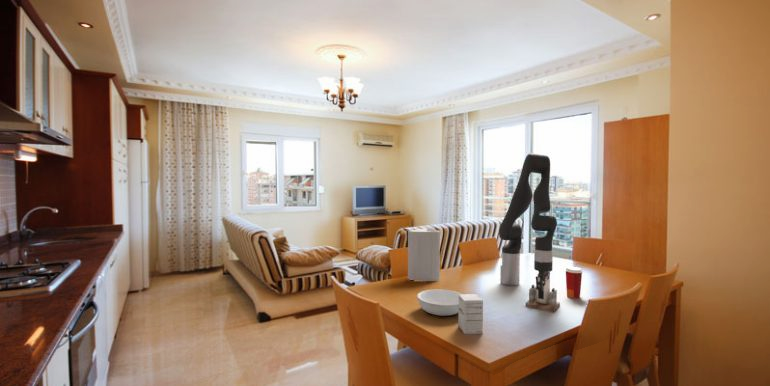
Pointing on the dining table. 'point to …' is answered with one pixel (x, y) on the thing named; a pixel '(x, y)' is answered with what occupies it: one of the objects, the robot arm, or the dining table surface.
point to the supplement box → (470, 314)
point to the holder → (549, 306)
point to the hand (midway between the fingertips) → (542, 296)
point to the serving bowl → (439, 301)
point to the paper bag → (424, 254)
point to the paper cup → (573, 282)
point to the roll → (546, 293)
